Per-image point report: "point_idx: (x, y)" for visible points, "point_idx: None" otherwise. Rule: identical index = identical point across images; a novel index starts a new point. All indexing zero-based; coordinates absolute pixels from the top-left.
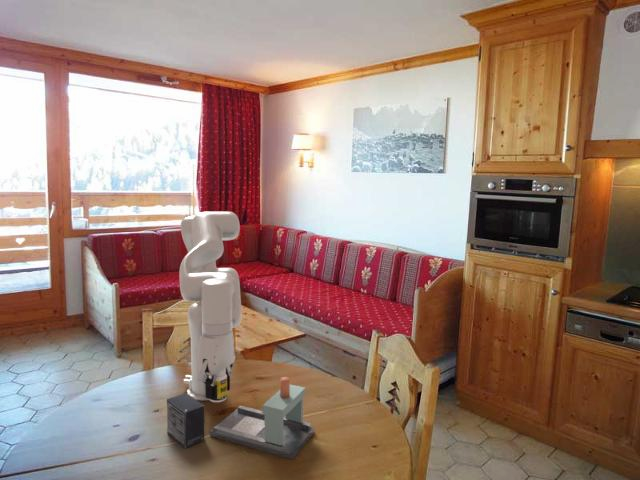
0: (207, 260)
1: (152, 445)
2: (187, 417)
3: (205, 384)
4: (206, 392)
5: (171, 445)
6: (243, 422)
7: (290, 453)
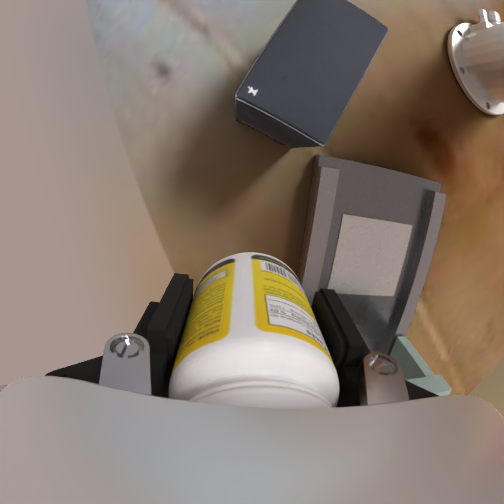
0: None
1: (219, 30)
2: (243, 107)
3: (150, 321)
4: (144, 312)
5: (236, 73)
6: (382, 233)
7: None
